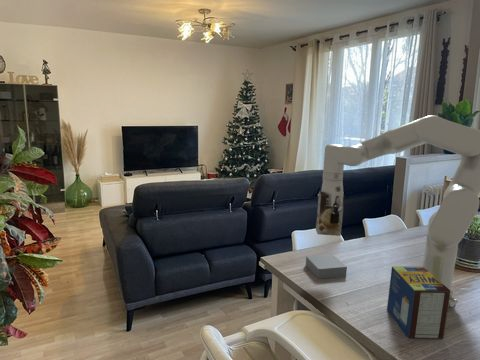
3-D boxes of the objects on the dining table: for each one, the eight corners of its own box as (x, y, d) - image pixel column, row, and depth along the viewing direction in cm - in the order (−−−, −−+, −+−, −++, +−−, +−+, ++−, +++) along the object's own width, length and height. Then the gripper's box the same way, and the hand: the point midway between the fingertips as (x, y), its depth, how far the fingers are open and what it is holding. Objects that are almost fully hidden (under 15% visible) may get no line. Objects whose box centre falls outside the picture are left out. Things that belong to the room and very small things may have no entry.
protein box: (417, 309, 116) (423, 266, 113) (443, 339, 101) (451, 290, 97) (385, 308, 116) (391, 265, 113) (407, 338, 101) (414, 289, 97)
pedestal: (346, 276, 138) (346, 266, 137) (317, 278, 135) (318, 269, 134) (331, 263, 149) (332, 254, 148) (305, 265, 146) (306, 256, 146)
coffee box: (317, 234, 136) (320, 195, 133) (315, 229, 142) (318, 191, 139) (341, 236, 135) (344, 196, 132) (338, 230, 141) (341, 192, 138)
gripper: (353, 180, 127) (349, 226, 130) (331, 172, 143) (327, 213, 147) (334, 181, 125) (330, 227, 129) (314, 172, 142) (311, 213, 145)
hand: (329, 219), depth 138 cm, fingers closed on coffee box, 7 cm apart
